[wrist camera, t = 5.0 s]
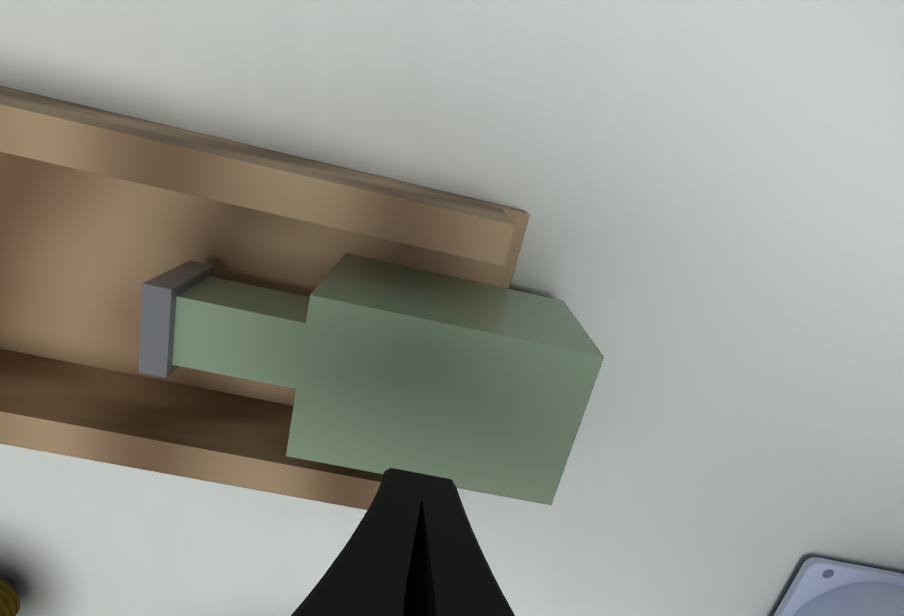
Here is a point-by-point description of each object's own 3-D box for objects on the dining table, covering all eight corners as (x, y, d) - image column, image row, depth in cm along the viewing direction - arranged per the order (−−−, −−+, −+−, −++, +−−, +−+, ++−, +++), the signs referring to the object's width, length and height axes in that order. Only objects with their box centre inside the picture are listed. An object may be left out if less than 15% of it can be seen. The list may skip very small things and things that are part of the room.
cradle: (525, 210, 18) (552, 236, 14) (458, 450, 22) (462, 537, 17) (-89, 64, 17) (-302, 36, 12) (-63, 349, 20) (-221, 415, 15)
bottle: (603, 356, 14) (118, 254, 13) (551, 505, 15) (114, 424, 14) (563, 300, 19) (207, 222, 17) (526, 417, 20) (197, 352, 19)
